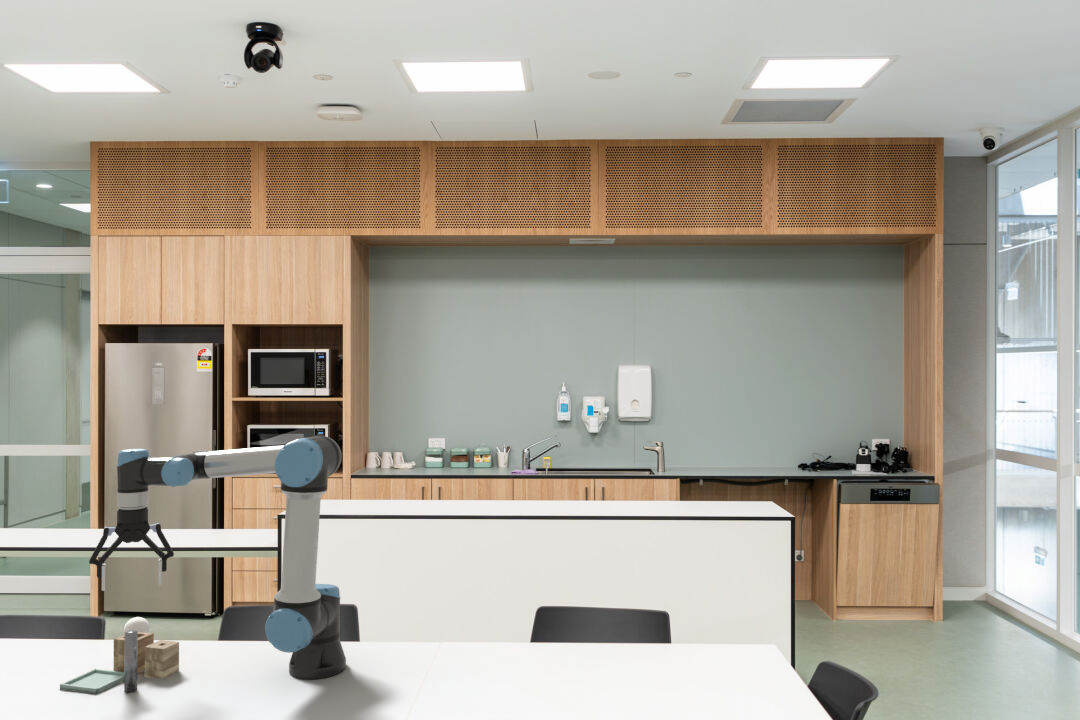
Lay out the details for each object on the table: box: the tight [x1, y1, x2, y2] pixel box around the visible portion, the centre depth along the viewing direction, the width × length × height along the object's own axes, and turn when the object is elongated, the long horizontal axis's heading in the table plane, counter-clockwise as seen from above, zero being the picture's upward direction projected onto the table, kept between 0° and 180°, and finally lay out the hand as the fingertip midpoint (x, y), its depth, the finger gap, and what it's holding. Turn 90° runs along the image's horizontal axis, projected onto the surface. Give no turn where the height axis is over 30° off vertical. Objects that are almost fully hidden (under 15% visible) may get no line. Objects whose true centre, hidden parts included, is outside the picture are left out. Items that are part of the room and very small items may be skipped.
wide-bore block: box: [113, 632, 155, 675], centre depth 227 cm, size 7×7×9 cm
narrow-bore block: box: [144, 639, 180, 680], centre depth 224 cm, size 6×6×8 cm
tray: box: [59, 668, 124, 695], centre depth 217 cm, size 12×12×1 cm
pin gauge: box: [123, 630, 138, 694], centre depth 212 cm, size 3×3×15 cm
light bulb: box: [123, 616, 150, 635], centre depth 238 cm, size 7×7×11 cm
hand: (132, 586), depth 221 cm, fingers open, 13 cm apart
